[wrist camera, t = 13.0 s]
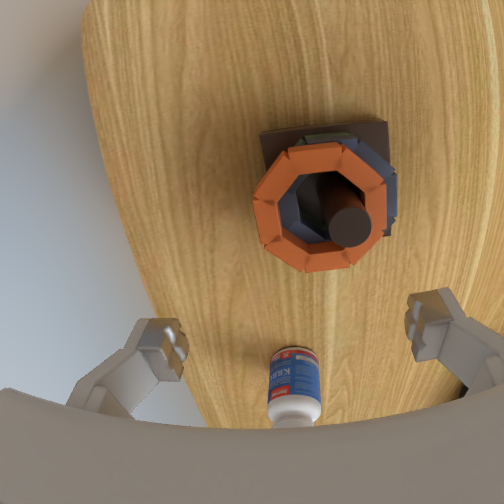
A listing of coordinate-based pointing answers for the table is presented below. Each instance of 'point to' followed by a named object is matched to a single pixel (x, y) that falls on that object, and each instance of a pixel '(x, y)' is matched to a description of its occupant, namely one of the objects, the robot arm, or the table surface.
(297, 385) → the pill bottle
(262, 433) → the robot arm
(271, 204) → the orange ring
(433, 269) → the table surface
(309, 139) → the stack post
